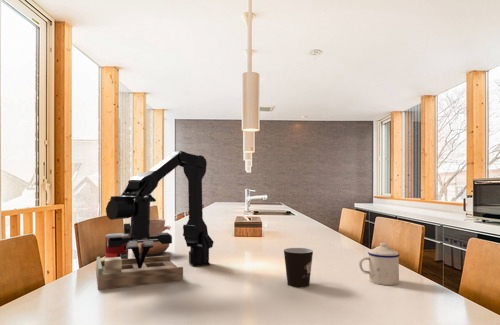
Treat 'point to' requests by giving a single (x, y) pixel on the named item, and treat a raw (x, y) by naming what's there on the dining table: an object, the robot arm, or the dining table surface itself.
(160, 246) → the ceramic jug
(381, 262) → the teacup with lid
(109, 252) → the canned food
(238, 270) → the dining table surface
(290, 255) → the coffee mug
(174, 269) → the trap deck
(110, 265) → the maple block
